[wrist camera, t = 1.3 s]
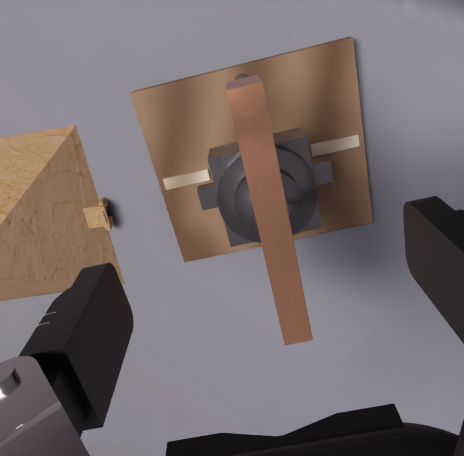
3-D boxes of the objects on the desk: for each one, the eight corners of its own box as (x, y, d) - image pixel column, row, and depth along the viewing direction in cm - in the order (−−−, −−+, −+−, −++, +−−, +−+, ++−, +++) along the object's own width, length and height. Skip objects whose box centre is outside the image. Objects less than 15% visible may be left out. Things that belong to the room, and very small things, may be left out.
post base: (349, 36, 34) (386, 38, 26) (369, 217, 40) (404, 264, 32) (133, 91, 35) (103, 108, 27) (185, 256, 42) (174, 310, 34)
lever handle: (312, 53, 28) (345, 61, 20) (341, 258, 35) (376, 328, 27) (170, 88, 29) (147, 110, 21) (225, 282, 36) (224, 356, 28)
